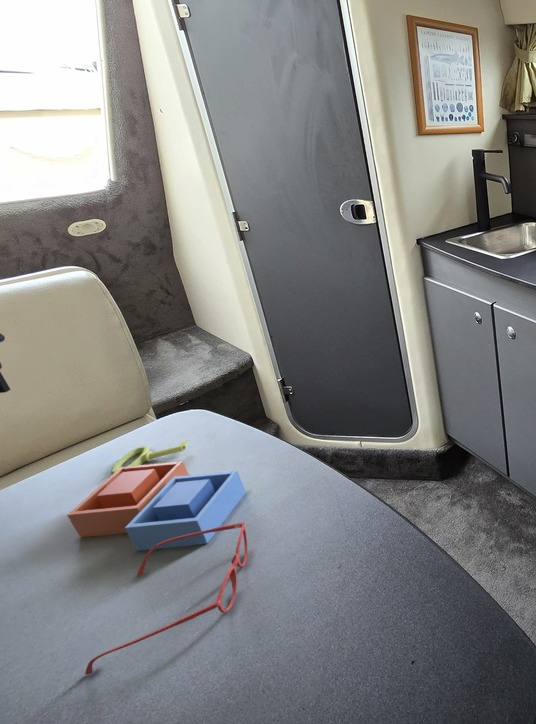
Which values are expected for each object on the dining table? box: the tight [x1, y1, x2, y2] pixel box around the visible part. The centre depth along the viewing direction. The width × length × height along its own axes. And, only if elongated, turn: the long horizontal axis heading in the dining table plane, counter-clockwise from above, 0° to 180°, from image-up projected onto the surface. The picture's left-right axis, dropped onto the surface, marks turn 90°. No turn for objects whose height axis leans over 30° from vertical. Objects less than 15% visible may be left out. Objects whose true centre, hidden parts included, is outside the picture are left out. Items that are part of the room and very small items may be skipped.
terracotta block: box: [97, 469, 160, 509], centre depth 87 cm, size 6×6×6 cm
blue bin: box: [125, 470, 247, 552], centre depth 84 cm, size 11×11×5 cm
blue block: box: [153, 479, 215, 521], centre depth 84 cm, size 6×6×6 cm
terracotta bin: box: [66, 461, 190, 538], centre depth 87 cm, size 11×11×5 cm
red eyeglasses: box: [84, 521, 248, 675], centre depth 71 cm, size 17×16×5 cm
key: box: [111, 440, 190, 475], centre depth 100 cm, size 7×12×2 cm, turn 122°
